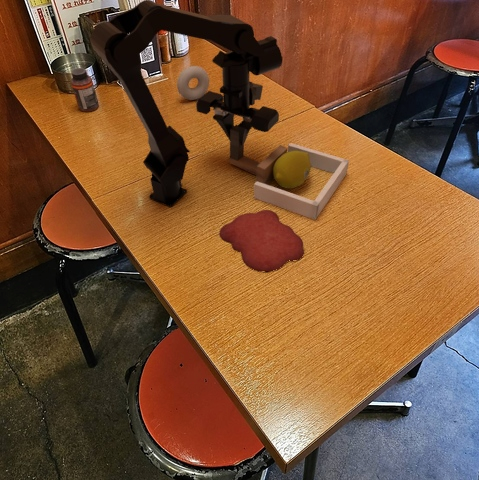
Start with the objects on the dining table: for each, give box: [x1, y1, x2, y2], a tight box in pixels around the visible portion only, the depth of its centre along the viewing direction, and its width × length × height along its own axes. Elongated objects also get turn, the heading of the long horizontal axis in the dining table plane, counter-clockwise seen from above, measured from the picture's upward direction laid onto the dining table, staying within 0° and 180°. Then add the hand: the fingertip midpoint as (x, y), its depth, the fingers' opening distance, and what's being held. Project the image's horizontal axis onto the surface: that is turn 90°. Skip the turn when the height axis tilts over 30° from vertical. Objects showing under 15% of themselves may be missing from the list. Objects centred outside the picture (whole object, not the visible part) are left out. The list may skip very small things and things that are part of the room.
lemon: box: [273, 151, 312, 189], centre depth 104 cm, size 11×8×8 cm
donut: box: [176, 65, 210, 101], centre depth 133 cm, size 10×4×10 cm, turn 117°
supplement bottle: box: [70, 67, 100, 113], centre depth 130 cm, size 6×6×11 cm
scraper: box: [228, 124, 288, 185], centre depth 107 cm, size 10×12×10 cm
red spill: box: [218, 209, 305, 272], centre depth 94 cm, size 18×14×2 cm
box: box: [253, 142, 350, 221], centre depth 105 cm, size 18×15×4 cm
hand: (237, 142), depth 108 cm, fingers closed on scraper, 2 cm apart
